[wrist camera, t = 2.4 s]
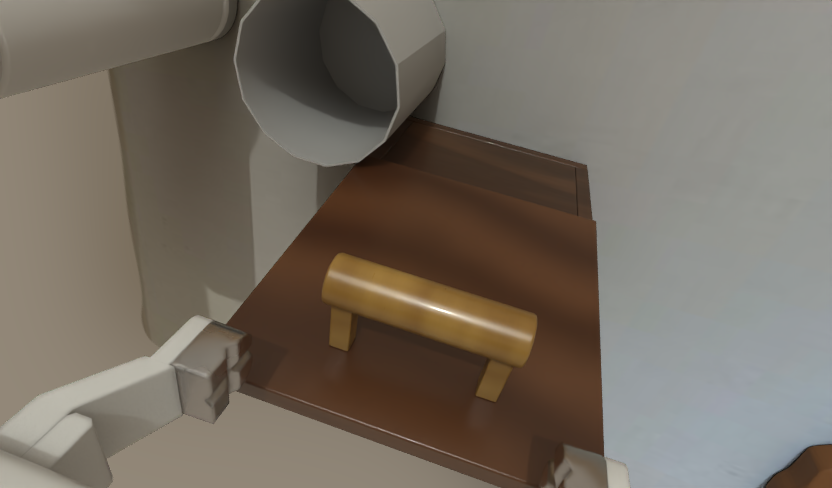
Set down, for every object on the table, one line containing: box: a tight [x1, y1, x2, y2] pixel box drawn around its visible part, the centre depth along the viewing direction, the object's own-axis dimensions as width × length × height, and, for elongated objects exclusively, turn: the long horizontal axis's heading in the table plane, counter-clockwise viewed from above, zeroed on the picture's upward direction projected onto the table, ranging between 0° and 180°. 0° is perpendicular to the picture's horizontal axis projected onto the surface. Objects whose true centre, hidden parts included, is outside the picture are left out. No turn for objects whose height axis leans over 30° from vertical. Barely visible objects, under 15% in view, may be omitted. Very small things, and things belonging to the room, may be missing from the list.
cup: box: [233, 0, 446, 167], centre depth 26 cm, size 8×8×10 cm
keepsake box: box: [369, 116, 592, 220], centre depth 32 cm, size 14×13×8 cm
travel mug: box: [0, 0, 237, 99], centre depth 23 cm, size 6×7×20 cm
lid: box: [226, 155, 604, 488], centre depth 18 cm, size 14×13×4 cm
